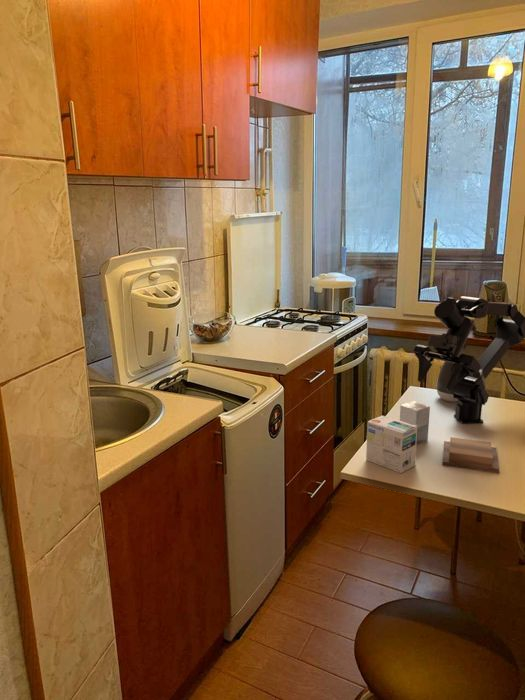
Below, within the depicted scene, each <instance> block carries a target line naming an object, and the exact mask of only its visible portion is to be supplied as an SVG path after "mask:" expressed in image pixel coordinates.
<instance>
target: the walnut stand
mask: <svg viewBox="0 0 525 700" xmlns="http://www.w3.org/2000/svg"><path fill="white" fill-rule="evenodd" d="M442 452H443V453H442V463H441V464H442V466H444V467H445V466H446V467H453V468H458V469H459V468H460V469H467V470H476V471H480V472H489V473H496V474H499V473H500V464H499V456H498V449H497V447H495V446H492V441H487V440H477V439H471V438H470V439H469V438H461V437H450V441H445V440H444V441H443V451H442Z"/></svg>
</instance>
